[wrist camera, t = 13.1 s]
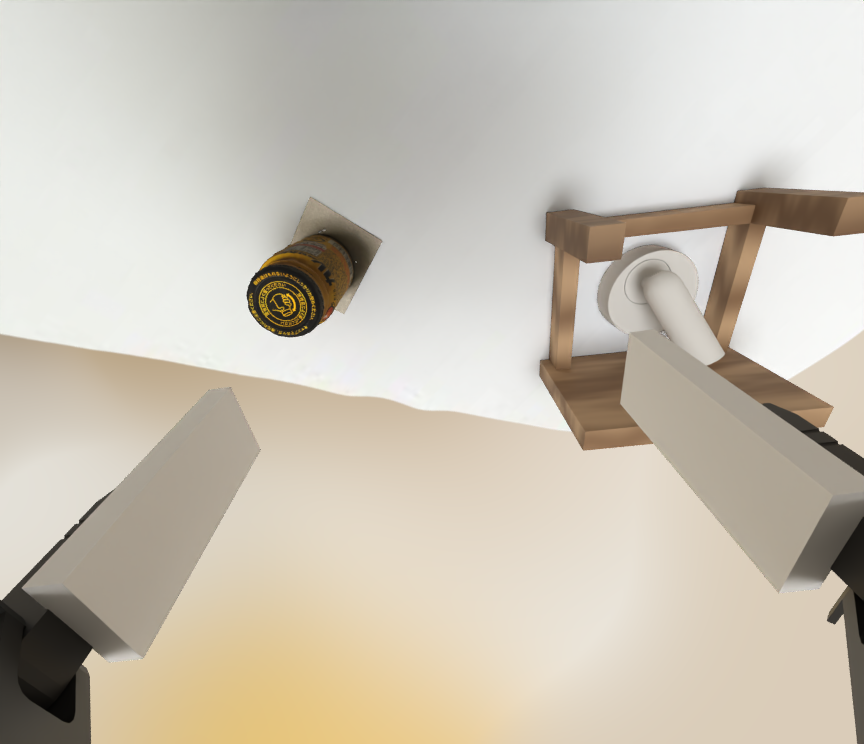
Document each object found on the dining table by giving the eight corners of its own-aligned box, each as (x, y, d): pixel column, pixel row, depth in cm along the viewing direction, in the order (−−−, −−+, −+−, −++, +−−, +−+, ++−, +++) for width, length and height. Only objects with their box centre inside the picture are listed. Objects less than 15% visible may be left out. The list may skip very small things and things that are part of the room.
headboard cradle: (546, 212, 34) (609, 233, 23) (765, 187, 34) (940, 196, 22) (539, 375, 43) (583, 450, 31) (714, 357, 42) (823, 426, 31)
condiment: (277, 277, 37) (219, 320, 26) (310, 196, 33) (259, 208, 23) (344, 313, 39) (315, 366, 28) (382, 240, 35) (366, 270, 25)
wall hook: (668, 396, 33) (632, 308, 29) (618, 351, 42) (584, 277, 37) (769, 347, 31) (745, 244, 27) (695, 309, 39) (668, 226, 35)
